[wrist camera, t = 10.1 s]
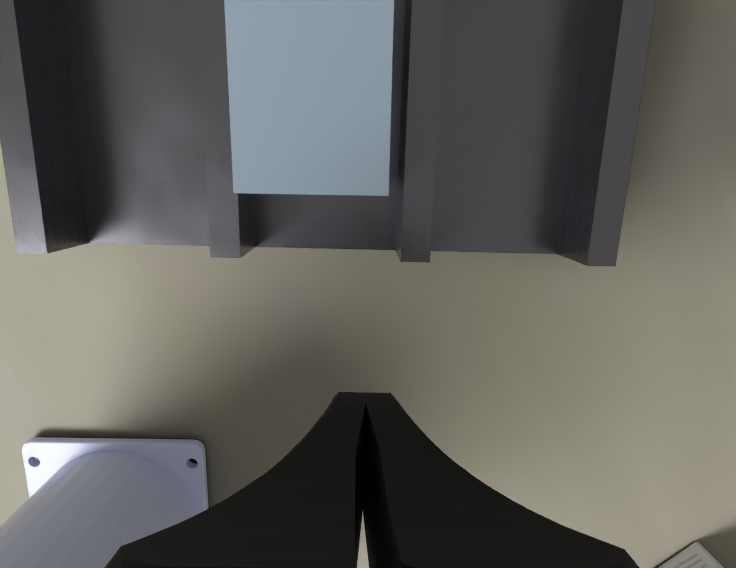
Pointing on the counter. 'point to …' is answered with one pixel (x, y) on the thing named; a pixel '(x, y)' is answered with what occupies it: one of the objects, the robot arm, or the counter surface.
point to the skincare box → (692, 558)
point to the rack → (325, 212)
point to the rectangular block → (310, 95)
